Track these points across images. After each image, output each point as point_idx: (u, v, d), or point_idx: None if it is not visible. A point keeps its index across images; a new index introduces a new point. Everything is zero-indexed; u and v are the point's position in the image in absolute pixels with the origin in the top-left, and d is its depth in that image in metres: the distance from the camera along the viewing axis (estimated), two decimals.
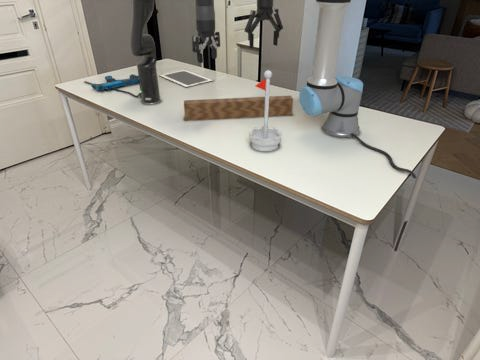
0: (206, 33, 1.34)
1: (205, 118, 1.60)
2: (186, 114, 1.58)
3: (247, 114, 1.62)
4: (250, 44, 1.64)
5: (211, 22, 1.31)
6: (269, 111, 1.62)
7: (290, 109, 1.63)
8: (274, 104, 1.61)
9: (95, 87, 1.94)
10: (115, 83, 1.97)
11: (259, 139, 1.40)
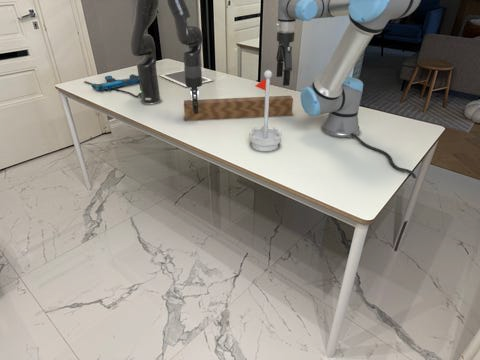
0: None
1: (205, 118, 1.60)
2: (186, 114, 1.58)
3: (247, 114, 1.62)
4: (285, 82, 1.50)
5: (201, 78, 1.51)
6: (269, 111, 1.62)
7: (290, 109, 1.63)
8: (274, 104, 1.61)
9: (95, 87, 1.94)
10: (115, 83, 1.97)
11: (259, 139, 1.40)
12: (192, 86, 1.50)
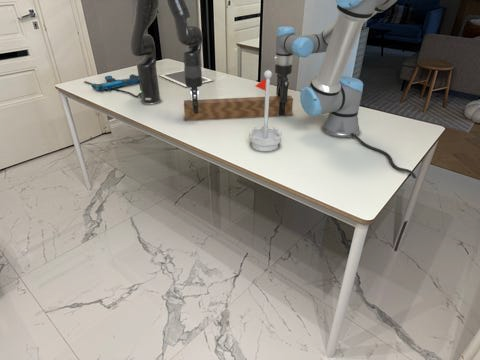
0: None
1: (205, 118, 1.60)
2: (186, 114, 1.58)
3: (247, 114, 1.62)
4: (281, 112, 1.62)
5: (201, 78, 1.51)
6: (269, 111, 1.62)
7: (290, 109, 1.63)
8: (274, 104, 1.61)
9: (95, 87, 1.94)
10: (115, 83, 1.97)
11: (259, 139, 1.40)
12: (192, 86, 1.50)
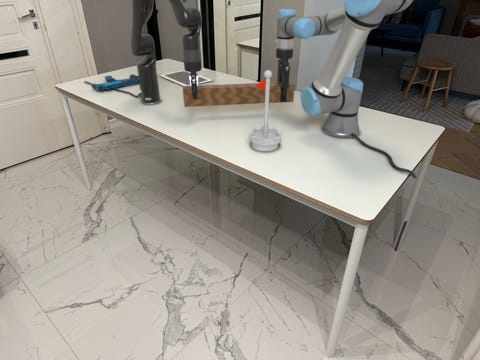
0: None
1: (204, 104, 1.56)
2: (185, 100, 1.54)
3: (247, 100, 1.58)
4: (282, 98, 1.58)
5: None
6: (270, 98, 1.58)
7: (292, 95, 1.59)
8: (275, 90, 1.57)
9: (95, 87, 1.94)
10: (115, 83, 1.97)
11: (259, 139, 1.40)
12: (191, 71, 1.46)
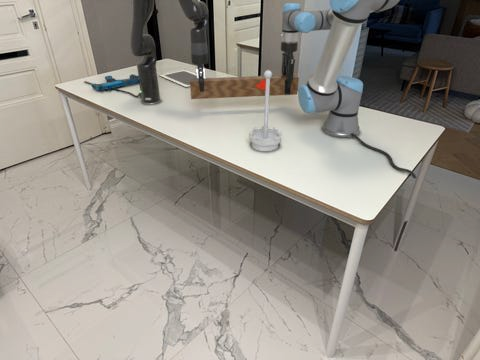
0: None
1: (211, 97, 1.60)
2: (192, 92, 1.58)
3: (252, 93, 1.62)
4: (287, 91, 1.63)
5: (207, 55, 1.52)
6: (275, 90, 1.63)
7: (296, 88, 1.63)
8: (279, 83, 1.61)
9: (95, 87, 1.94)
10: (115, 83, 1.97)
11: (259, 139, 1.40)
12: (198, 63, 1.50)
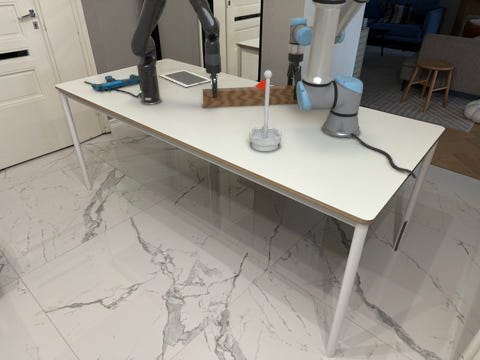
0: None
1: (222, 105, 1.74)
2: (204, 102, 1.72)
3: (260, 102, 1.75)
4: (295, 96, 1.71)
5: (220, 65, 1.64)
6: (280, 99, 1.76)
7: None
8: (285, 92, 1.74)
9: (95, 87, 1.94)
10: (115, 83, 1.97)
11: (259, 139, 1.40)
12: (212, 73, 1.63)
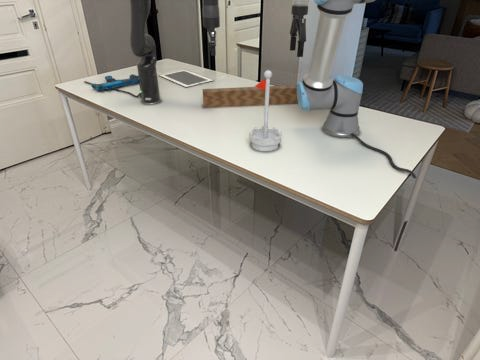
0: None
1: (222, 105, 1.74)
2: (204, 102, 1.72)
3: (260, 102, 1.75)
4: (299, 53, 1.60)
5: (219, 19, 1.53)
6: (280, 99, 1.76)
7: None
8: (285, 92, 1.74)
9: (95, 87, 1.94)
10: (115, 83, 1.97)
11: (259, 139, 1.40)
12: (210, 26, 1.52)
